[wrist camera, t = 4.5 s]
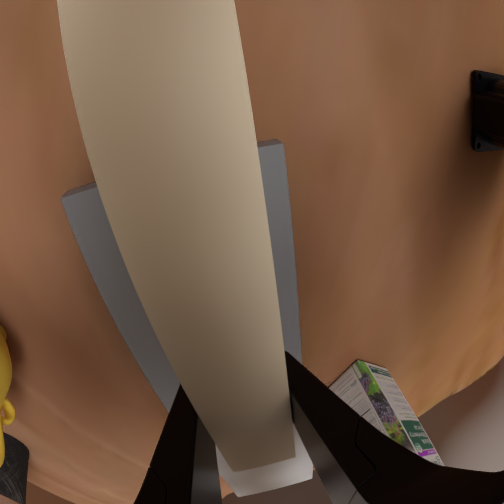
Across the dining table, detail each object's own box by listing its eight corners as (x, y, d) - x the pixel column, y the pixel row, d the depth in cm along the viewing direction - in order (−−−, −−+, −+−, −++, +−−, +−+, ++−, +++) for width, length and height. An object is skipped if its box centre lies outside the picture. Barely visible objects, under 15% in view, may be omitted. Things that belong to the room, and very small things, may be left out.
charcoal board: (276, 138, 17) (283, 143, 16) (301, 413, 32) (304, 422, 31) (67, 191, 16) (60, 198, 15) (193, 439, 30) (194, 449, 29)
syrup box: (387, 366, 31) (453, 472, 19) (351, 400, 33) (404, 504, 21) (357, 357, 29) (429, 483, 16) (317, 395, 30) (372, 516, 18)
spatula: (265, -10, 5) (312, -51, 3) (307, 466, 18) (320, 500, 16) (47, 42, 5) (-16, 30, 2) (235, 484, 17) (243, 519, 15)
